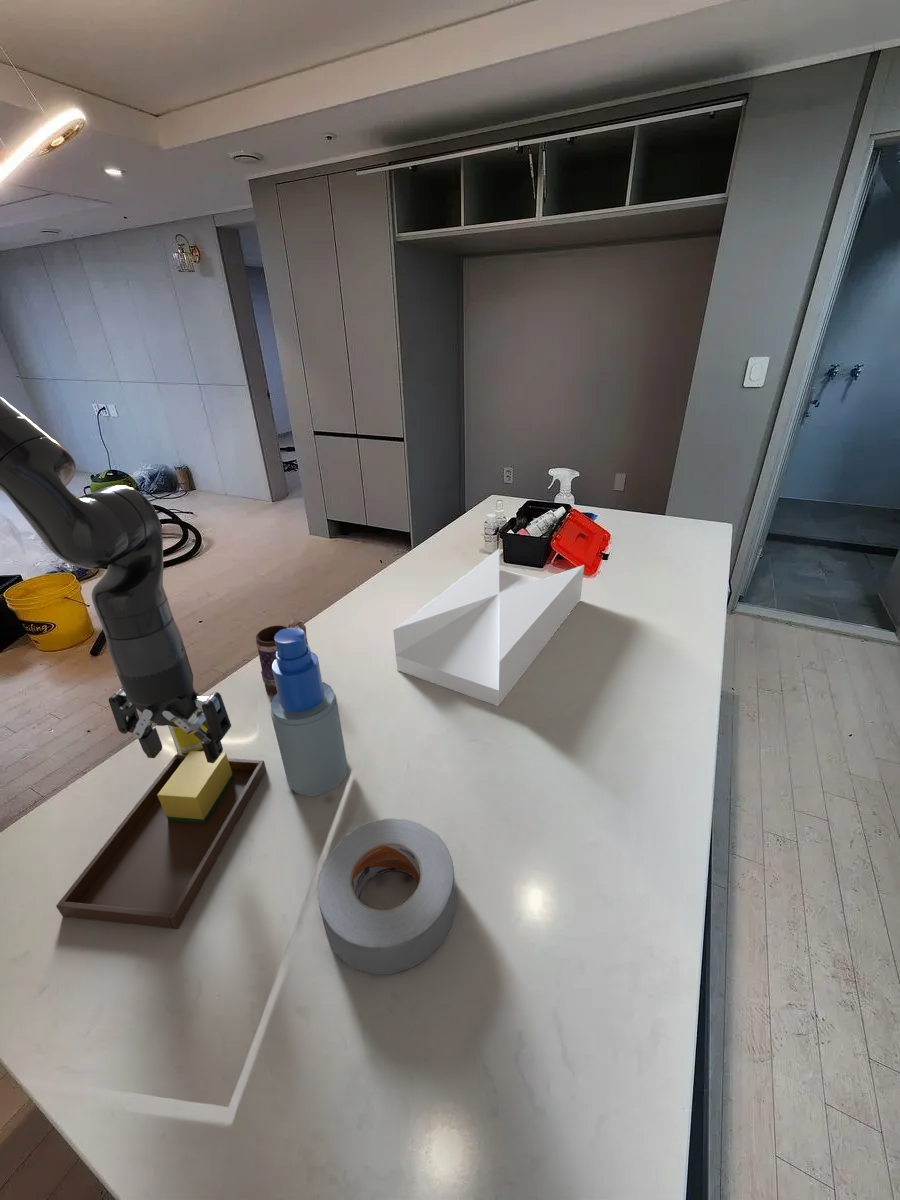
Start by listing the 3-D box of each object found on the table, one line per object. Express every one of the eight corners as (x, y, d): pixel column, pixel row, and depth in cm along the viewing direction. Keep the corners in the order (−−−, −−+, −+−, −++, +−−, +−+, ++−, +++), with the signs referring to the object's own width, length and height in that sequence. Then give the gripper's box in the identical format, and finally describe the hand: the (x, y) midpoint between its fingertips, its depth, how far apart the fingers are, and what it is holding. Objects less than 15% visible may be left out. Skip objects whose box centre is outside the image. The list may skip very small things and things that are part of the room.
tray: (64, 919, 58) (55, 906, 57) (180, 767, 79) (175, 754, 78) (179, 932, 57) (173, 918, 56) (267, 773, 77) (264, 760, 76)
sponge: (167, 820, 69) (156, 794, 67) (199, 775, 76) (190, 750, 74) (205, 823, 69) (195, 797, 66) (233, 777, 76) (226, 752, 73)
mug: (280, 702, 92) (267, 647, 86) (257, 688, 96) (243, 634, 90) (324, 675, 99) (315, 622, 93) (301, 662, 103) (291, 611, 97)
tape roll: (298, 902, 60) (290, 875, 57) (398, 822, 69) (396, 796, 67) (378, 1011, 50) (373, 984, 47) (482, 901, 59) (483, 874, 57)
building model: (498, 706, 90) (499, 661, 85) (397, 670, 100) (393, 628, 95) (580, 600, 123) (584, 564, 119) (498, 581, 134) (499, 547, 129)
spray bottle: (274, 783, 75) (237, 641, 64) (317, 745, 82) (290, 610, 70) (319, 808, 71) (288, 661, 60) (360, 766, 78) (339, 626, 66)
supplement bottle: (221, 742, 83) (206, 694, 79) (191, 763, 79) (173, 715, 75) (200, 730, 86) (185, 684, 81) (170, 750, 82) (152, 703, 77)
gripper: (222, 642, 64) (247, 740, 71) (117, 636, 65) (153, 733, 73) (188, 678, 57) (220, 782, 65) (72, 671, 59) (117, 773, 66)
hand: (185, 756), depth 69 cm, fingers open, 8 cm apart
